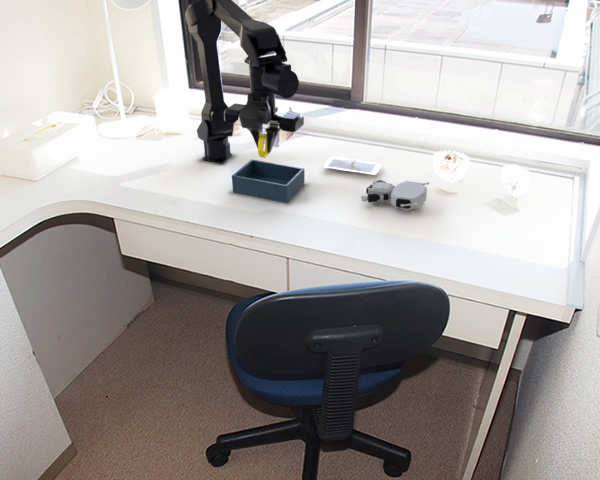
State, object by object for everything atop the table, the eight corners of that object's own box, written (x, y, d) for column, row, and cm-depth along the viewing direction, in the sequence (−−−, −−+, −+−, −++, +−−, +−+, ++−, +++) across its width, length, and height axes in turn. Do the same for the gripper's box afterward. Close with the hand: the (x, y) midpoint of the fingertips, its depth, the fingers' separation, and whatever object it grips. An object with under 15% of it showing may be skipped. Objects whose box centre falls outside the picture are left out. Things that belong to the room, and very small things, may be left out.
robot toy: (358, 210, 136) (419, 218, 130) (358, 193, 133) (420, 201, 128) (373, 190, 145) (430, 197, 139) (373, 173, 142) (432, 180, 137)
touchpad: (375, 178, 148) (376, 171, 147) (322, 170, 152) (322, 163, 151) (381, 167, 154) (382, 160, 153) (330, 159, 158) (330, 152, 157)
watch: (266, 161, 135) (265, 137, 132) (255, 159, 136) (254, 136, 132) (274, 151, 140) (273, 128, 136) (263, 150, 140) (262, 127, 137)
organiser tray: (232, 192, 142) (231, 175, 139) (252, 175, 150) (251, 159, 147) (287, 203, 137) (287, 186, 134) (304, 184, 145) (304, 168, 143)
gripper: (209, 91, 125) (215, 157, 134) (285, 102, 119) (285, 170, 129) (233, 78, 133) (237, 141, 142) (305, 88, 127) (304, 153, 137)
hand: (264, 151), depth 137 cm, fingers closed on watch, 2 cm apart
